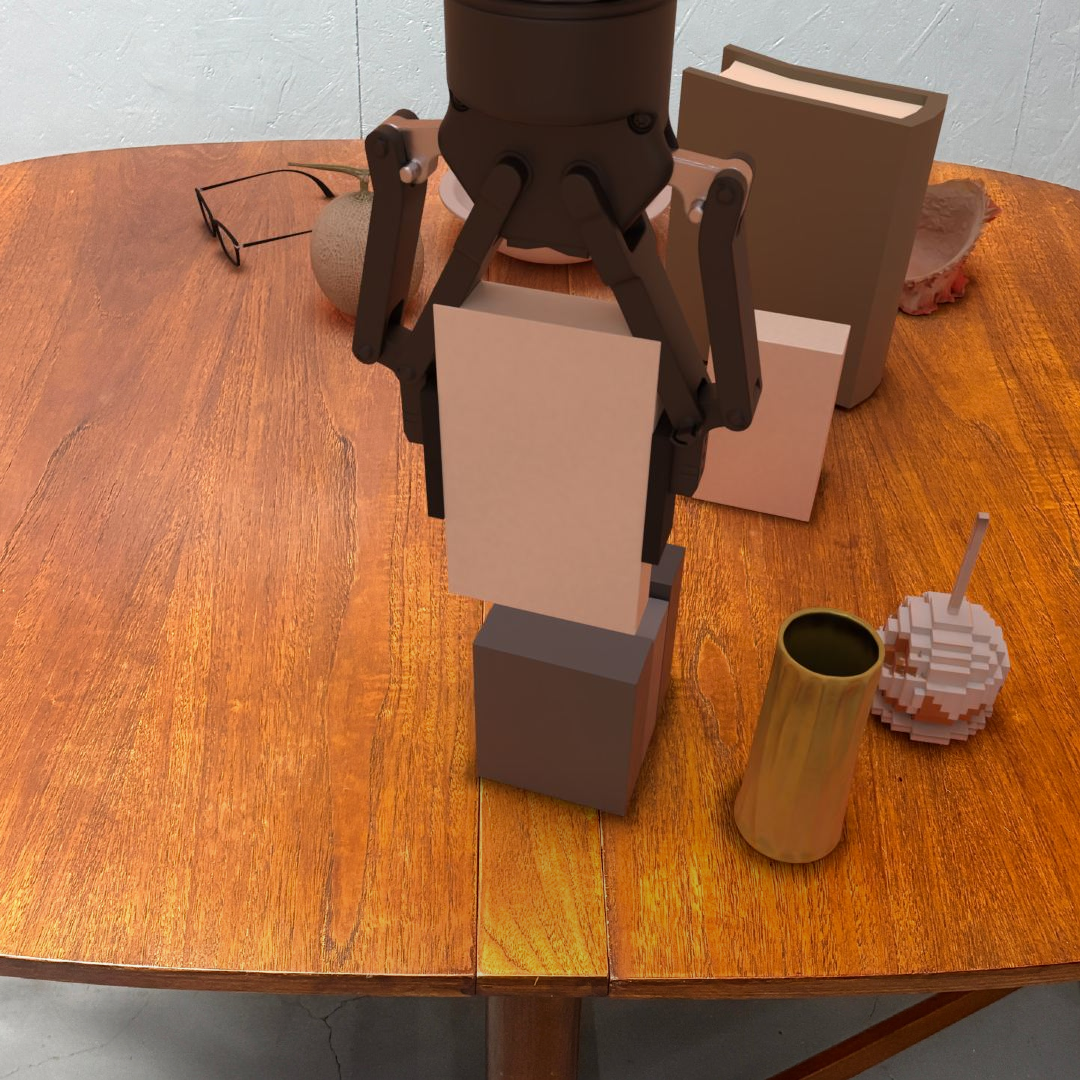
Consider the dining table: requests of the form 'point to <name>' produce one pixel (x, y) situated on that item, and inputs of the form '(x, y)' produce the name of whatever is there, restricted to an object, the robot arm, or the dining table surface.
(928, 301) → the seashell
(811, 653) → the vase
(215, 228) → the eyeglasses
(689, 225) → the book
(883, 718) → the pale rounded piece
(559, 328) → the white book
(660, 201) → the soup bowl
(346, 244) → the fruit
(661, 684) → the grey books
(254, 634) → the dining table surface
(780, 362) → the white books
